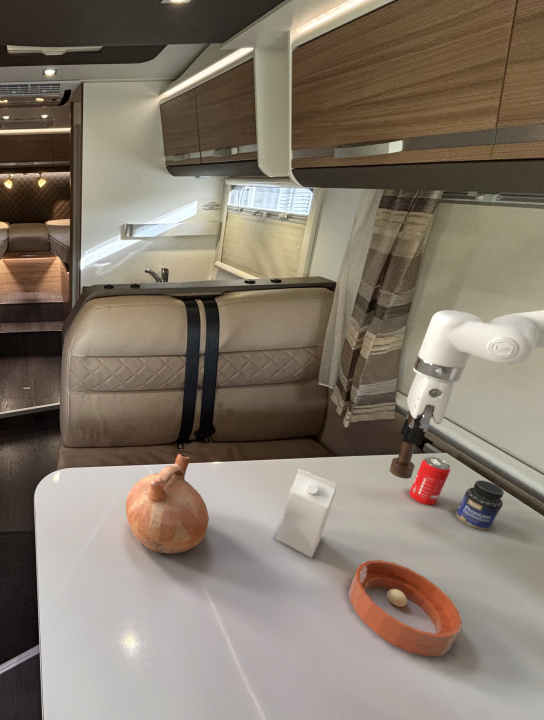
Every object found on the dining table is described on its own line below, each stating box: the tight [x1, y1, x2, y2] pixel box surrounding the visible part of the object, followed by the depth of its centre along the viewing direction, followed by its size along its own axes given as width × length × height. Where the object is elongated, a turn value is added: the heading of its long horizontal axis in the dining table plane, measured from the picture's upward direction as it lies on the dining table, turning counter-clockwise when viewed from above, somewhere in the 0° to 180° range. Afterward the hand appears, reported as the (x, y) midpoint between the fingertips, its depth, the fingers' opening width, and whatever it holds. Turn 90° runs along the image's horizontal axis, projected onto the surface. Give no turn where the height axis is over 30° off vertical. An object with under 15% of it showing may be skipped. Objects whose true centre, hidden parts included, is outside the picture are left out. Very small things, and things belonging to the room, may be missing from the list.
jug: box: [125, 453, 210, 555], centre depth 97 cm, size 18×18×20 cm
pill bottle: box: [455, 479, 505, 531], centre depth 101 cm, size 6×6×11 cm
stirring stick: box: [389, 416, 420, 480], centre depth 98 cm, size 4×4×15 cm
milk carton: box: [276, 468, 338, 558], centre depth 95 cm, size 7×7×19 cm
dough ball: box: [386, 589, 408, 608], centre depth 83 cm, size 3×3×3 cm
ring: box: [348, 559, 463, 658], centre depth 81 cm, size 15×15×6 cm
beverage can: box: [409, 456, 451, 506], centre depth 108 cm, size 5×5×12 cm
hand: (409, 438), depth 98 cm, fingers closed on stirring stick, 2 cm apart
